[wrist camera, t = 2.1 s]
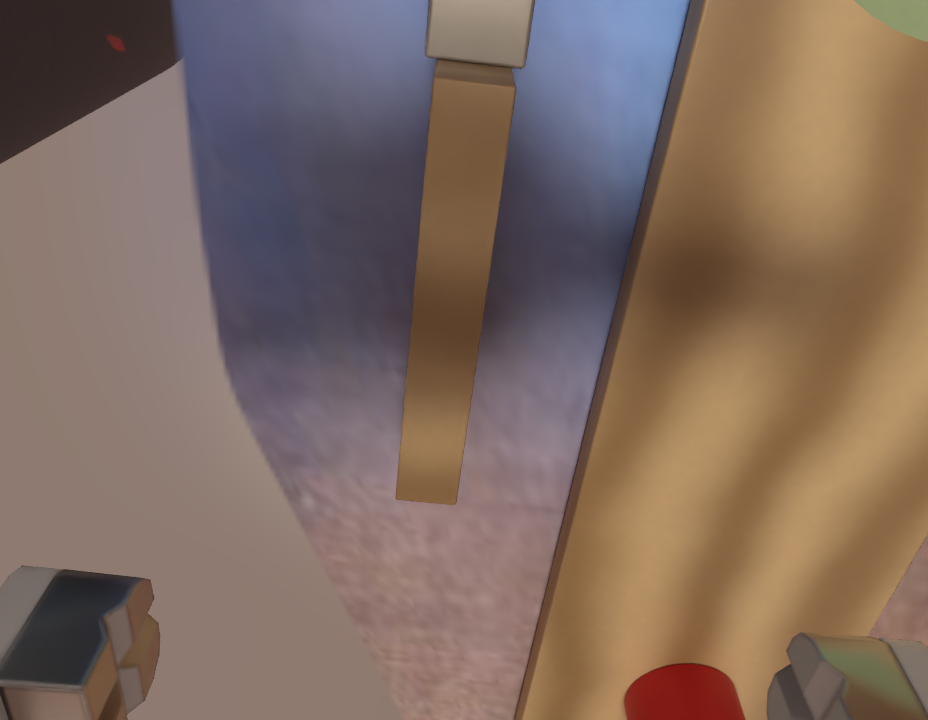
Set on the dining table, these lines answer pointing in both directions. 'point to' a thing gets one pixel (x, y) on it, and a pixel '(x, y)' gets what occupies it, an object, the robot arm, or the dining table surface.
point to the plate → (900, 15)
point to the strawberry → (683, 695)
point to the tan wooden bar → (457, 230)
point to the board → (754, 367)
